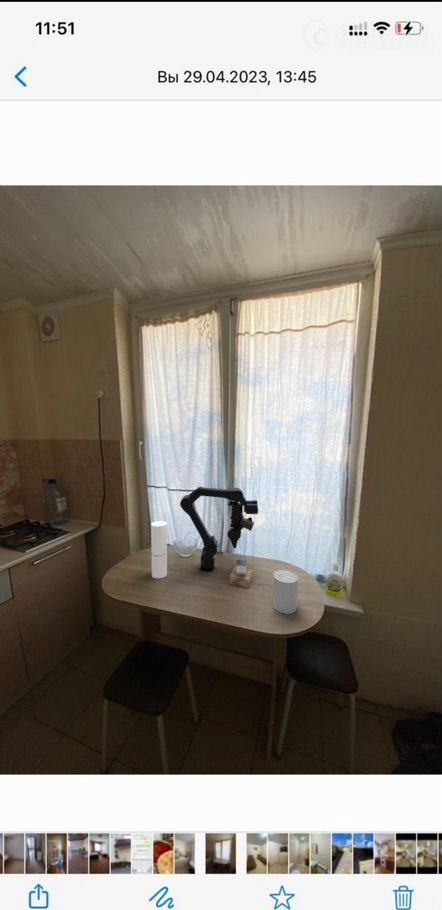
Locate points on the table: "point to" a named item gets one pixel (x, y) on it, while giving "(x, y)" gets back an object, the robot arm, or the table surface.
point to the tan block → (241, 578)
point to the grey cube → (241, 567)
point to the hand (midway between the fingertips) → (236, 544)
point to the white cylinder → (285, 591)
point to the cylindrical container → (159, 549)
